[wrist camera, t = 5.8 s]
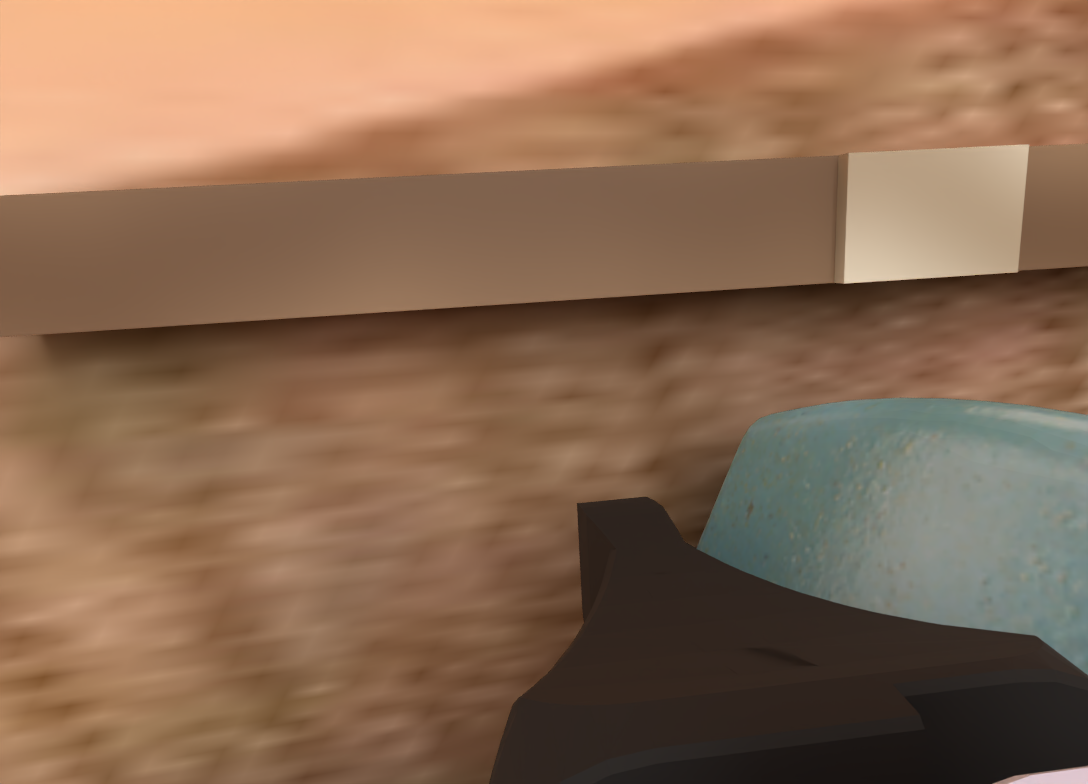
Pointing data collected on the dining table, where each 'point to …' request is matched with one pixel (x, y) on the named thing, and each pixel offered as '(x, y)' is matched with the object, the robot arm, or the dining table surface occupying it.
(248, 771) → the dining table surface
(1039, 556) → the flower pot
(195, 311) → the wooden frame
